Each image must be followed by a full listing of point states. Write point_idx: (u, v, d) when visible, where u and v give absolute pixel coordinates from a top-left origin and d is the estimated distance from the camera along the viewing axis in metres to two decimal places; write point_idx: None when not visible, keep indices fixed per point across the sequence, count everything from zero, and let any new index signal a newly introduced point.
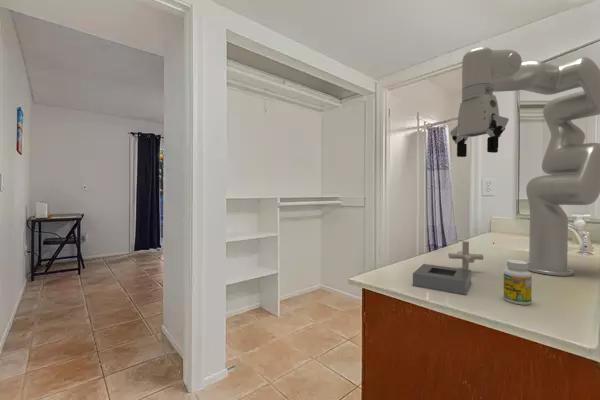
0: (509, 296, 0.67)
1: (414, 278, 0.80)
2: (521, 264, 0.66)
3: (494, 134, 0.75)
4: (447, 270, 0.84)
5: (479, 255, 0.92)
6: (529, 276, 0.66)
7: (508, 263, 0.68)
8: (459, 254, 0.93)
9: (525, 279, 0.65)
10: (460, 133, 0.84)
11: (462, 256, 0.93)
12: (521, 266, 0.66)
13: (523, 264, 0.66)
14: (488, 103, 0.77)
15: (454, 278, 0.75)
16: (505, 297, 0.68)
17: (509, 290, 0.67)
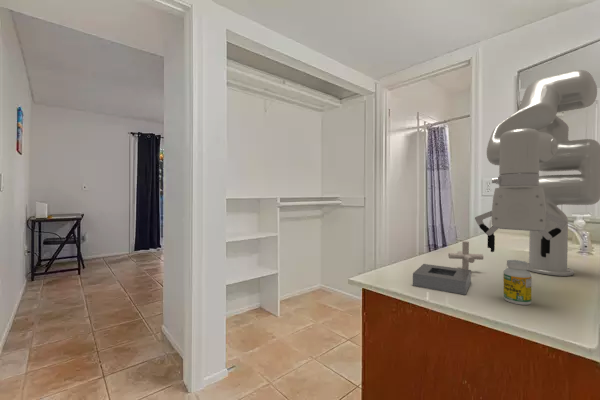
0: (509, 296, 0.67)
1: (414, 278, 0.80)
2: (521, 264, 0.66)
3: None
4: (447, 270, 0.84)
5: (479, 255, 0.92)
6: (529, 276, 0.66)
7: (508, 263, 0.68)
8: (459, 254, 0.93)
9: (525, 279, 0.65)
10: None
11: (462, 256, 0.93)
12: (521, 266, 0.66)
13: (523, 264, 0.66)
14: None
15: (454, 278, 0.75)
16: (505, 297, 0.68)
17: (509, 290, 0.67)
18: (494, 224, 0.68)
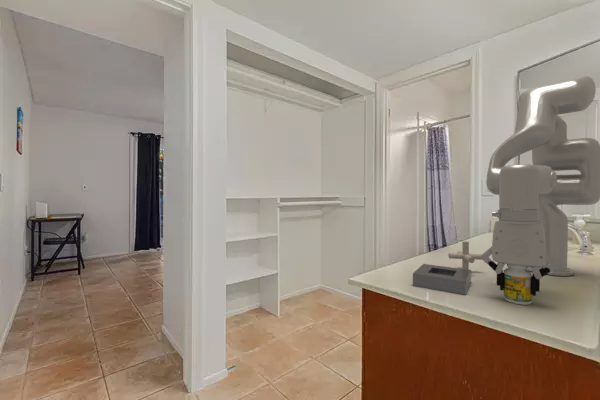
0: (509, 296, 0.67)
1: (414, 278, 0.80)
2: None
3: None
4: (447, 270, 0.84)
5: (479, 255, 0.92)
6: (529, 276, 0.66)
7: None
8: (459, 254, 0.93)
9: (525, 279, 0.65)
10: None
11: (462, 256, 0.93)
12: (521, 266, 0.66)
13: None
14: None
15: (454, 278, 0.75)
16: (505, 297, 0.68)
17: (509, 290, 0.67)
18: (494, 258, 0.68)
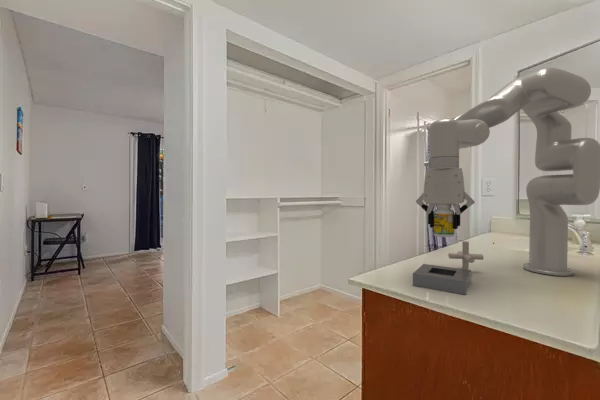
0: (436, 231, 0.80)
1: (414, 278, 0.80)
2: None
3: None
4: (447, 270, 0.84)
5: (479, 255, 0.92)
6: (451, 213, 0.78)
7: (436, 204, 0.81)
8: (459, 254, 0.93)
9: (448, 215, 0.78)
10: None
11: (462, 256, 0.93)
12: (445, 205, 0.79)
13: None
14: None
15: (454, 278, 0.75)
16: (434, 233, 0.81)
17: (436, 226, 0.80)
18: (425, 200, 0.81)
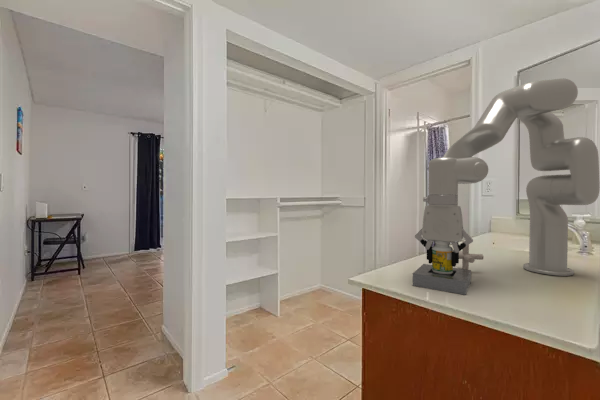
0: (434, 267, 0.81)
1: (414, 278, 0.80)
2: None
3: None
4: None
5: (479, 255, 0.92)
6: (450, 250, 0.79)
7: None
8: (459, 254, 0.93)
9: (446, 253, 0.79)
10: None
11: (462, 256, 0.93)
12: (444, 242, 0.79)
13: None
14: None
15: (454, 278, 0.75)
16: (432, 269, 0.82)
17: (435, 263, 0.80)
18: (423, 236, 0.82)
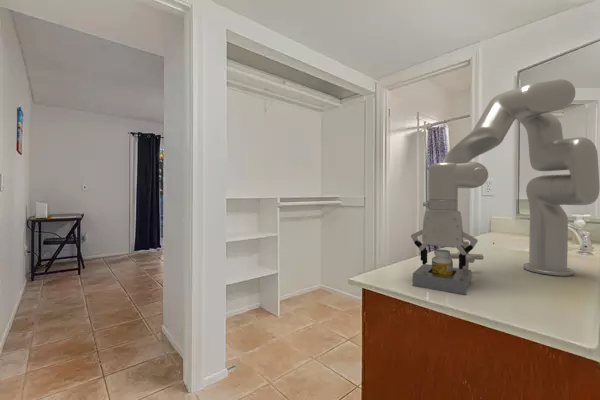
0: None
1: (414, 278, 0.80)
2: (443, 252, 0.80)
3: None
4: None
5: (479, 255, 0.92)
6: (450, 262, 0.79)
7: (435, 252, 0.82)
8: None
9: (446, 265, 0.79)
10: None
11: None
12: (443, 254, 0.79)
13: (445, 252, 0.79)
14: None
15: (454, 278, 0.75)
16: None
17: None
18: (423, 241, 0.82)
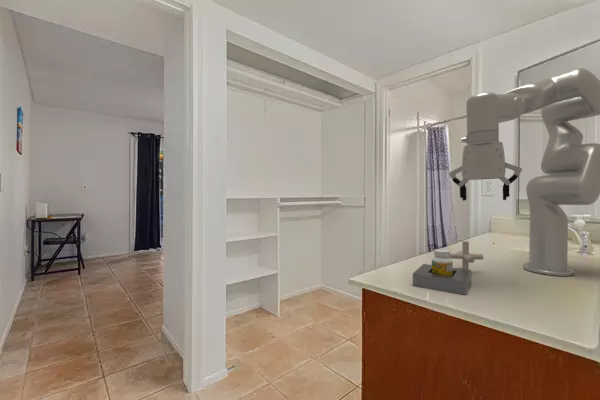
0: None
1: (414, 278, 0.80)
2: (443, 252, 0.80)
3: None
4: None
5: (479, 255, 0.92)
6: (449, 262, 0.79)
7: (434, 252, 0.82)
8: (459, 254, 0.93)
9: (446, 264, 0.79)
10: None
11: (462, 256, 0.93)
12: (443, 254, 0.80)
13: (445, 252, 0.80)
14: None
15: (454, 278, 0.75)
16: None
17: None
18: (464, 176, 0.81)
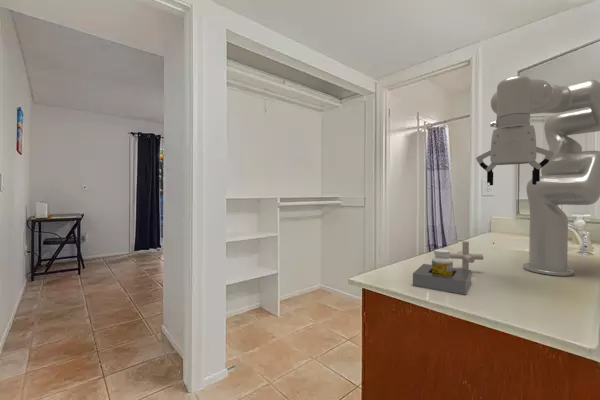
0: None
1: (414, 278, 0.80)
2: (443, 252, 0.80)
3: None
4: None
5: (479, 255, 0.92)
6: (449, 262, 0.79)
7: (434, 252, 0.82)
8: (459, 254, 0.93)
9: (446, 265, 0.79)
10: None
11: (462, 256, 0.93)
12: (443, 254, 0.79)
13: (445, 252, 0.79)
14: None
15: (454, 278, 0.75)
16: None
17: None
18: (492, 160, 0.80)
